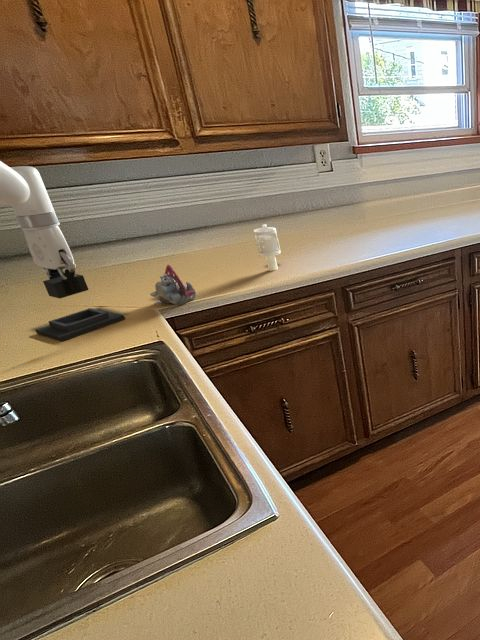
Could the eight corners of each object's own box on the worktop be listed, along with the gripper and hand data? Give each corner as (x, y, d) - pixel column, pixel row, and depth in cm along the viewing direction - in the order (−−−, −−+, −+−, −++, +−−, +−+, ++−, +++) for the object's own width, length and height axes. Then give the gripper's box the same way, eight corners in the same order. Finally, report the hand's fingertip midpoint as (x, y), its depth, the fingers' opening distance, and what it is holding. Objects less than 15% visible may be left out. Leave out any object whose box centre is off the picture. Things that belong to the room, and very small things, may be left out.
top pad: (59, 298, 130) (53, 283, 129) (49, 296, 133) (42, 281, 131) (88, 289, 136) (83, 275, 134) (78, 287, 138) (72, 273, 136)
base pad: (62, 341, 130) (57, 331, 128) (36, 333, 135) (32, 324, 133) (125, 319, 142) (122, 309, 141) (100, 312, 147) (96, 303, 146)
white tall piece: (284, 265, 184) (275, 223, 177) (283, 270, 178) (274, 227, 171) (263, 267, 182) (253, 225, 175) (262, 273, 176) (252, 229, 169)
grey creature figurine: (209, 289, 155) (176, 264, 145) (187, 319, 152) (152, 296, 142) (188, 283, 161) (154, 259, 151) (166, 313, 157) (131, 290, 147)
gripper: (2, 221, 126) (34, 291, 135) (40, 226, 119) (71, 300, 128) (37, 215, 132) (66, 283, 141) (74, 220, 125) (102, 291, 133)
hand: (68, 290), depth 134 cm, fingers closed on top pad, 5 cm apart
